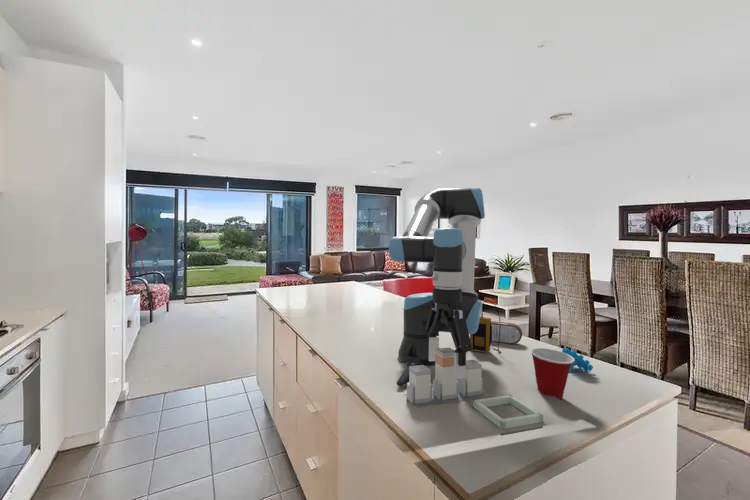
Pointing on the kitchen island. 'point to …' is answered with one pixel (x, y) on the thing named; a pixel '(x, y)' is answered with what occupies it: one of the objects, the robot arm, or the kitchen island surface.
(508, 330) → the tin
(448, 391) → the block
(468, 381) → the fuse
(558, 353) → the plastic cup
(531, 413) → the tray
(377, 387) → the kitchen island surface
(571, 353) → the blue knobby plastic piece
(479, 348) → the multimeter
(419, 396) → the grey block
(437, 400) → the block
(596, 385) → the kitchen island surface
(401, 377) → the can opener
